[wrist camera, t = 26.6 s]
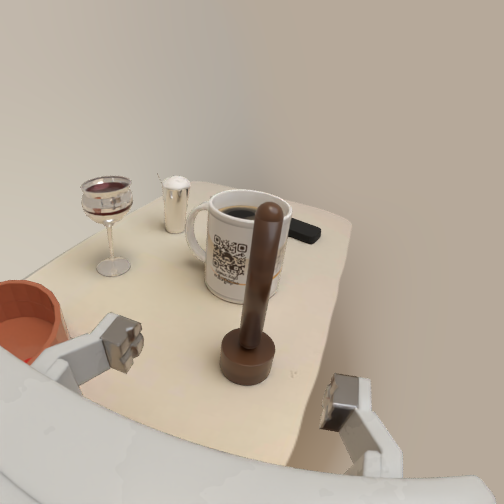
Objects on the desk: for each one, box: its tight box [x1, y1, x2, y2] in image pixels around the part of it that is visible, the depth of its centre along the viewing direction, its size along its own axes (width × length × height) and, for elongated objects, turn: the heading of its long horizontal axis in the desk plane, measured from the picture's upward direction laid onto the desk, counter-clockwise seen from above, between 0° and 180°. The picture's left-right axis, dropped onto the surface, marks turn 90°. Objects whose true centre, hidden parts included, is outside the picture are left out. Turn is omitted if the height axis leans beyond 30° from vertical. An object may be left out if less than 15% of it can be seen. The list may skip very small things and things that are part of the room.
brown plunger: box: [220, 202, 284, 385], centre depth 26 cm, size 5×5×17 cm
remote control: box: [288, 218, 321, 244], centre depth 58 cm, size 5×2×15 cm
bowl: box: [0, 280, 71, 366], centre depth 23 cm, size 14×14×6 cm
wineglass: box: [80, 176, 133, 276], centre depth 39 cm, size 7×7×12 cm
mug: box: [185, 190, 292, 304], centre depth 40 cm, size 10×12×11 cm
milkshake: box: [162, 176, 190, 234], centre depth 50 cm, size 4×5×10 cm
